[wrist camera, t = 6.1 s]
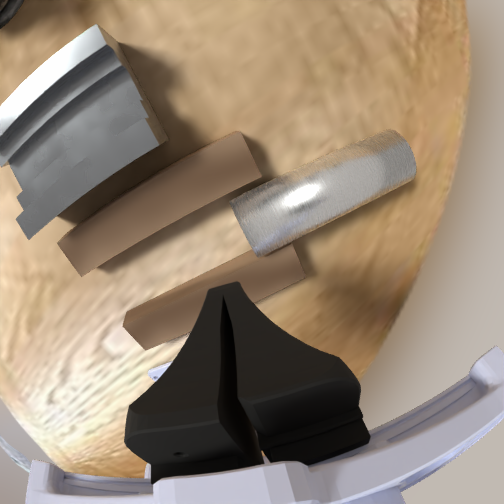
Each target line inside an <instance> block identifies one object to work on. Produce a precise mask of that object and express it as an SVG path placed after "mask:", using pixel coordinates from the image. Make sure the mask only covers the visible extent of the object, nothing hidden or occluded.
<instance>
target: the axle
mask: <svg viewBox="0 0 504 504" xmlns="http://www.w3.org/2000/svg"><path fill="white" fill-rule="evenodd" d="M415 175H416V162H415V158H414V155H413V152H412V150H411V148H410V146H409V144H408V143H407V141H406V140H405V139H404V138H403V137H402V136H401V135H400V134H399V133H398V132H396V131H394V130H391V129H387V130H384V131H382V132H379V133H377V134H374V135H372V136H369V137H367V138H364V139H362V140H360V141H357V142H355V143H352V144H350V145H348V146H345V147H343V148H341V149H338V150H336V151H334V152H331V153H329V154H327V155H325V156H322V157H320V158H318V159H316V160H313V161H311V162H309V163H307V164H305V165H302V166H300V167H298V168H296V169H294V170H292V171H289V172H287V173H285V174H283V175H281V176H279V177H277V178H275V179H272V180H270V181H268V182H266V183H264V184H262V185H260V186H258V187H256V188H254V189H252V190H250V191H248V192H246V193H244V194H242V195H240V196H238V197H236V198H234V199H232V200H230V201H229V202H230V205H231V207H232V209H233V211H234V214H235V216H236V218H237V220H238V222H239V224H240V226H241V228H242V230H243V232H244V234H245V236H246V238H247V240H248V242H249V244H250V245H251V247H252V249H253V251H254V253H255V254H256V256H257V257H258V258H259V257H261V256H263V255H265V254H267V253H269V252H271V251H273V250H275V249H277V248H279V247H281V246H283V245H285V244H287V243H289V242H291V241H293V240H295V239H297V238H299V237H301V236H303V235H305V234H307V233H309V232H311V231H313V230H315V229H317V228H319V227H321V226H323V225H325V224H327V223H329V222H331V221H333V220H335V219H337V218H339V217H341V216H343V215H345V214H347V213H349V212H351V211H353V210H355V209H357V208H359V207H361V206H363V205H365V204H367V203H369V202H371V201H373V200H375V199H377V198H379V197H381V196H383V195H384V194H386V193H388V192H390V191H392V190H394V189H396V188H398V187H400V186H402V185H404V184H406V183H408V182H410V181H412V180H413V179H414V177H415Z"/></svg>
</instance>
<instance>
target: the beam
mask: <svg viewBox="0 0 504 504" xmlns="http://www.w3.org/2000/svg"><path fill="white" fill-rule="evenodd" d="M261 177H262V176H261V173H260V171H259V169H258V167H257V165H256V163H255V161H254V159H253V157H252V154H251V152H250V150H249V148H248V146H247V144H246V142H245V140H244V138H243V136H242V134H241V132H240V131H235V132H233V133H231V134H229V135H227V136H225V137H223V138H221V139H219V140H217V141H215V142H213V143H211V144H209V145H207V146H205V147H203V148H201V149H199V150H197V151H195V152H193V153H191V154H189V155H188V156H186V157H184V158H182V159H180V160H178V161H177V162H175V163H173V164H171V165H170V166H168V167H166V168H164V169H163V170H161V171H159V172H157V173H156V174H154V175H152V176H151V177H149V178H147V179H146V180H144V181H142V182H141V183H139V184H137V185H136V186H134V187H133V188H131V189H129V190H128V191H126V192H125V193H123V194H122V195H120V196H119V197H117V198H115V199H114V200H112V201H111V202H109V203H108V204H107V205H105V206H104V207H102V208H101V209H99V210H98V211H96V212H95V213H93V214H92V215H91V216H89V217H88V218H86V219H85V220H84V221H82V222H81V223H79V224H78V225H77V226H75V227H74V228H73V229H71V230H70V231H69V232H67V233H66V234H65V235H64V236H63V237H62V238H61V239H60V240H59V242H58V243H57V244H58V245H59V247H60V248H61V250H62V251H63V253H64V254H65V255H66V257H67V258H68V260H69V261H70V262H71V264H72V265H73V266H74V268H75V269H76V270H77V272H78V273H79V274H80V276H81V277H82V276H84V275H85V274H87V273H88V272H90V271H91V270H93V269H95V268H96V267H98V266H99V265H101V264H103V263H104V262H106V261H108V260H109V259H111V258H112V257H114V256H116V255H117V254H119V253H121V252H122V251H124V250H126V249H127V248H129V247H131V246H133V245H134V244H136V243H138V242H139V241H141V240H143V239H145V238H146V237H148V236H150V235H152V234H153V233H155V232H157V231H159V230H160V229H162V228H164V227H166V226H168V225H169V224H171V223H173V222H175V221H177V220H178V219H180V218H182V217H184V216H186V215H188V214H190V213H191V212H193V211H195V210H197V209H199V208H201V207H203V206H205V205H207V204H208V203H210V202H212V201H214V200H216V199H218V198H220V197H222V196H224V195H226V194H228V193H230V192H232V191H234V190H236V189H238V188H240V187H242V186H244V185H246V184H248V183H250V182H252V181H254V180H256V179H258V178H261ZM304 278H306V275H305V273H304V270H303V268H302V266H301V263H300V261H299V259H298V256H297V254H296V252H295V249H294V247H293V245H292V243H291V242H289V243H287V244H285V245H283V246H281V247H279V248H277V249H275V250H273V251H271V252H269V253H267V254H265V255H263V256H261V257H259V258H258V257H257V256H256V254H255V253H254V251H253V249H252V250H250V251H248V252H246V253H244V254H242V255H240V256H238V257H236V258H234V259H232V260H230V261H228V262H226V263H224V264H222V265H220V266H218V267H216V268H214V269H212V270H210V271H208V272H206V273H204V274H202V275H200V276H198V277H196V278H194V279H192V280H190V281H188V282H186V283H184V284H182V285H180V286H178V287H176V288H174V289H172V290H170V291H168V292H166V293H164V294H162V295H160V296H158V297H156V298H153V299H151V300H149V301H147V302H145V303H143V304H141V305H139V306H137V307H135V308H133V309H131V310H129V311H127V312H126V316H125V319H124V323H123V327H124V328H125V329H126V330H127V332H128V333H129V334H130V335H131V336H132V337H133V338H134V339H135V340H136V341H137V342H138V343H139V344H140V345H141V346H142V347H143V348H144V349H145V350H148V349H150V348H153V347H155V346H158V345H160V344H162V343H165V342H167V341H170V340H172V339H174V338H177V337H179V336H181V335H184V334H186V333H188V332H191V331H192V329H193V327H194V325H195V322H196V320H197V318H198V315H199V313H200V311H201V308H202V306H203V303H204V300H205V297H206V294H207V291H208V290H209V289H210V288H214V287H217V286H221V285H225V284H228V283H232V282H236V281H238V282H240V284H241V286H242V288H243V290H244V292H245V293H246V294H247V296H248V297H249V298H250V300H251V301H252V302H253V303H254V302H256V301H259V300H261V299H263V298H265V297H267V296H269V295H271V294H273V293H275V292H277V291H279V290H281V289H283V288H286V287H288V286H290V285H292V284H294V283H296V282H298V281H300V280H302V279H304Z"/></svg>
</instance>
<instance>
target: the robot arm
mask: <svg viewBox="0 0 504 504" xmlns="http://www.w3.org/2000/svg"><path fill="white" fill-rule="evenodd" d="M148 375H149V376H150V377H151V378H152V379H153V380H154V381H155V383H154V384H153V385H152V386H151V387H150V388H149V389H148V390H147V391H146V392H145V393H143V394H142V395H141V396H140V397H139V398H138V399H137V400H135V401H134V402H133V403H132V404H131V405H129V409H128V413H127V418H126V427H125V438H124V442H125V444H126V446H127V447H128V448H129V449H130V450H131V451H132V452H133V453H134V454H136V455H137V456H139V457H140V458H142V459H143V460H144V461H146V462H147V463H148V464H147V465H146V470H145V478H118V477H104V476H93V475H85V474H77V473H70V472H64V471H63V470H62V469H61V468H59V467H58V466H56V465H54V464H51V463H48V462H44V461H39V460H35V459H34V460H32V464H31V469H30V475H29V481H28V487H27V494H26V502H25V504H405V501H404V499H403V497H402V495H401V493H400V492H402V491H404V490H406V489H408V488H409V487H411V486H413V485H415V484H416V483H418V482H420V481H421V480H423V479H425V478H426V477H428V476H430V475H431V474H433V473H434V472H436V471H437V470H439V469H440V468H442V467H443V466H445V465H446V464H448V463H449V462H451V461H452V460H454V459H455V458H456V457H458V456H459V455H460V454H462V453H463V452H464V451H466V450H467V449H468V448H470V447H471V446H472V445H473V444H475V443H476V442H477V441H478V440H480V439H481V438H482V437H483V436H484V435H485V434H487V433H488V432H489V431H490V430H491V429H492V428H494V427H495V426H496V425H497V424H498V423H499V422H500V421H501V420H502V419H503V418H504V353H503V352H502V351H501V350H500V349H499V348H498V346H494V347H493V348H491V349H490V350H489V351H488V352H487V353H485V354H484V355H482V356H481V357H480V358H479V359H478V360H477V361H476V362H475V363H474V364H473V366H472V368H471V370H470V372H469V374H468V375H467V376H466V377H464V378H463V379H461V380H460V381H458V382H457V383H456V384H454V385H453V386H451V387H450V388H448V389H446V390H445V391H443V392H442V393H440V394H438V395H437V396H435V397H434V398H432V399H430V400H429V401H427V402H425V403H423V404H422V405H420V406H418V407H416V408H414V409H413V410H411V411H409V412H407V413H405V414H403V415H401V416H399V417H398V418H396V419H393V420H391V421H389V422H387V423H385V424H383V425H381V426H379V427H377V428H374V429H372V430H370V431H368V430H367V428H366V426H365V423H364V421H363V419H362V418H363V414H362V412H361V410H360V408H359V400H360V393H361V387H360V383H359V382H358V380H357V378H356V377H355V375H354V374H353V373H352V371H351V370H350V369H349V368H348V366H347V365H346V364H345V363H344V362H343V361H342V360H341V359H340V358H339V357H337V356H334V355H331V354H328V353H325V352H323V351H320V350H318V349H316V348H314V347H311V346H309V345H307V344H305V343H304V342H302V341H300V340H298V339H297V338H295V337H293V336H291V335H290V334H288V333H287V332H285V331H284V330H282V329H281V328H280V327H278V326H277V325H276V324H274V323H273V322H272V321H271V320H270V319H269V318H267V317H266V316H265V315H264V314H263V313H262V312H261V311H260V310H259V309H258V308H257V307H256V305H255V304H254V303H253V302H252V301H251V300H250V298H249V297H248V296H247V294H246V293H245V292H244V290H243V288H242V286H241V284H240V282H238V281H236V282H232V283H228V284H225V285H221V286H217V287H214V288H210V289H209V290H208V291H207V294H206V297H205V300H204V303H203V306H202V308H201V311H200V313H199V315H198V318H197V320H196V322H195V325H194V327H193V329H192V331H191V333H190V335H189V337H188V338H187V340H186V342H185V344H184V345H183V347H182V349H181V350H180V352H179V353H178V355H177V356H176V358H175V359H174V360H173V361H171V362H168V363H166V364H163V365H161V366H158V367H155V368H153V369H150V370H149V371H148ZM261 451H263V452H264V454H265V455H266V456H264V457H263V456H262V453H261Z"/></svg>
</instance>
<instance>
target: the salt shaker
mask: <svg viewBox="0 0 504 504" xmlns="http://www.w3.org/2000/svg"><path fill="white" fill-rule="evenodd" d="M23 1H24V0H0V28H2V27H3V26H4V25H5V24H6V23H8V22H9V21H10V19H11V18H12V17H13V16H14V15H15V14H16V12H17V11H18V9H19V8H20V6H21V5H22V3H23Z"/></svg>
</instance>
